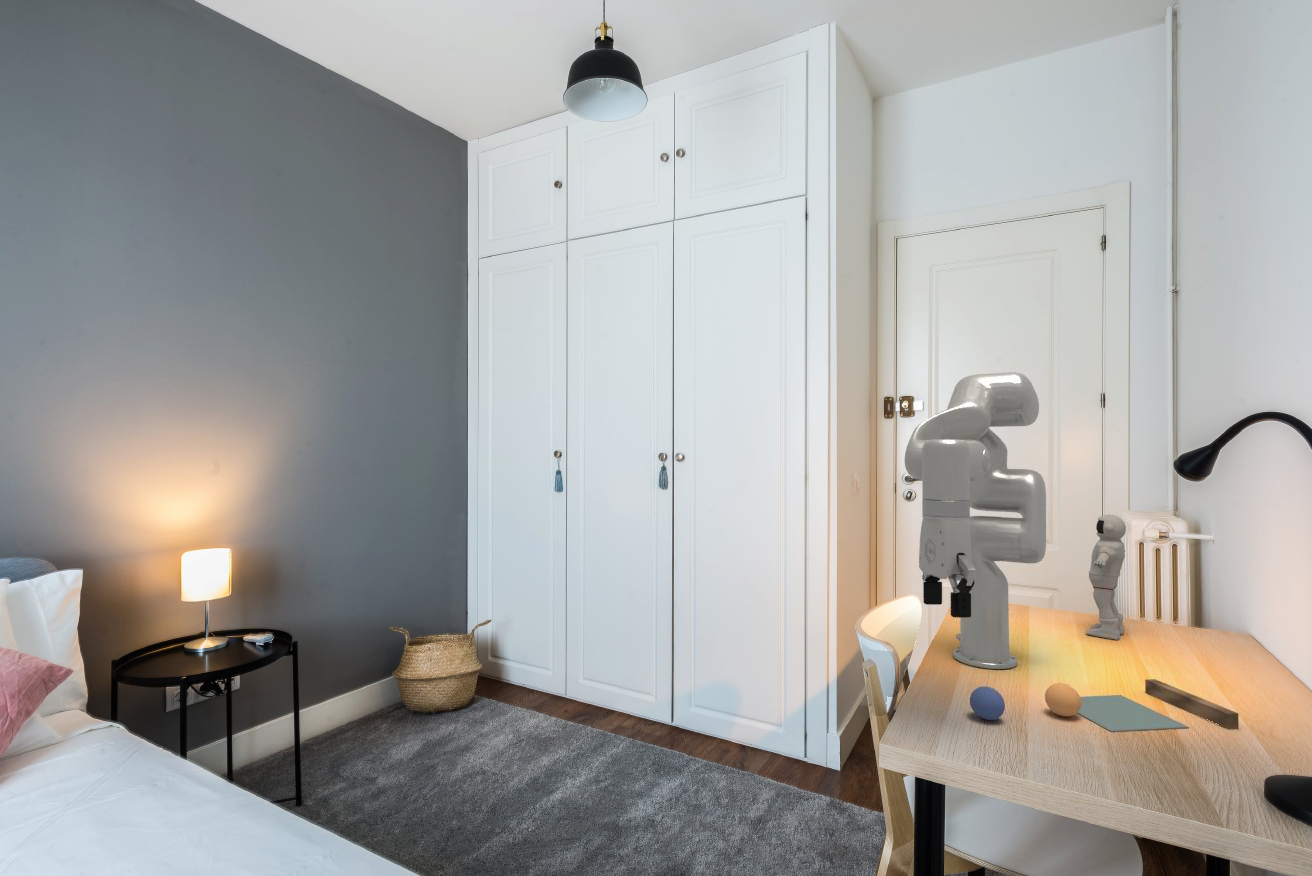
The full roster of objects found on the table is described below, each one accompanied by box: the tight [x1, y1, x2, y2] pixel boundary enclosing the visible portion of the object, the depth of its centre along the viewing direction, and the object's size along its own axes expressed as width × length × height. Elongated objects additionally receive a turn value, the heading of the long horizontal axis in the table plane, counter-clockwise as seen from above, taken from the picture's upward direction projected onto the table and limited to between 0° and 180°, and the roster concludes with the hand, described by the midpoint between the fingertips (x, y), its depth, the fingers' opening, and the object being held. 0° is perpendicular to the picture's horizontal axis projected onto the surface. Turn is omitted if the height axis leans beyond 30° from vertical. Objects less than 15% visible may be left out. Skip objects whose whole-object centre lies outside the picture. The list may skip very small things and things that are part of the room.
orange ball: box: [1044, 682, 1081, 718], centre depth 113 cm, size 5×5×5 cm
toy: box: [1085, 514, 1127, 641], centre depth 161 cm, size 29×8×30 cm, turn 136°
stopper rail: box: [1144, 678, 1240, 730], centre depth 115 cm, size 16×2×2 cm, turn 6°
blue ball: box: [969, 685, 1006, 721], centre depth 111 cm, size 5×5×5 cm
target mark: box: [1076, 694, 1190, 733], centre depth 114 cm, size 14×14×1 cm
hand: (946, 610), depth 111 cm, fingers open, 9 cm apart
